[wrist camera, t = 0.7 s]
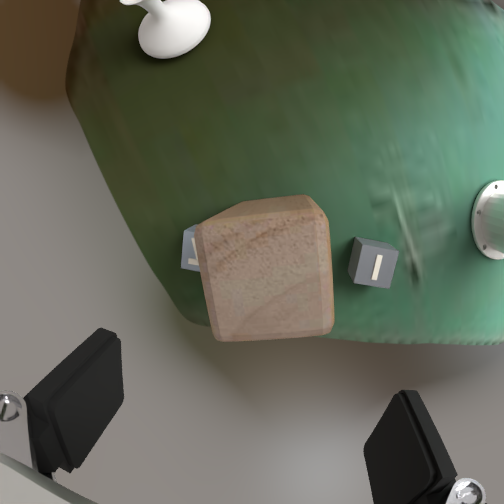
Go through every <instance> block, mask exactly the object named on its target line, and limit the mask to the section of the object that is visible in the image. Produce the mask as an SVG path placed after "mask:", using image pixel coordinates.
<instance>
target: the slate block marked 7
mask: <svg viewBox="0 0 504 504" xmlns="http://www.w3.org/2000/svg"><path fill="white" fill-rule="evenodd" d="M196 226H197V224H196V225H194V226H192V227H190V228H188V229H186V230H184V236H183V248H182V260H181V268H183V269H188V270H194V271H199V272H200V268H199V262H198V257H197V251H196V245H195V240H194V233H195V228H196Z"/></svg>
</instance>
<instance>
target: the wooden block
mask: <svg viewBox="0 0 504 504" xmlns="http://www.w3.org/2000/svg"><path fill="white" fill-rule="evenodd" d="M194 240H195V245H196V251H197V257H198V262H199V268H200V273H201V279H202V284H203V289H204V294H205V300H206V305H207V310H208V315H209V319H210V324H211V329H212V332H213V335H214V337H215V338H216V340H219V341H223V342H228V341H252V340H269V339H284V338H297V337H308V336H319V335H325V334H327V333H329V332H330V331H331V329H332V327H333V324H334V295H333V276H332V260H331V246H330V234H329V222H328V219H327V217H326V215H325V213H324V212H323V210H322V209H321V208H320V207H319V206H318V205H317V204H316V203H315V202H314V201H313V200H312V199H311V198H310V197H309V196H307V195H304V194H303V195H293V196H284V197H275V198H267V199H259V200H250V201H243V202H241V203H239V204H237V205H235V206H233V207H231V208H229V209H227V210H225V211H223V212H221V213H219V214H217V215H215V216H213V217H211V218H209V219H207V220H205V221H203V222H202V223H200V224H199V225H197V226H196V228H195V233H194Z"/></svg>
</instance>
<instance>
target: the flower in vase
mask: <svg viewBox="0 0 504 504" xmlns="http://www.w3.org/2000/svg"><path fill="white" fill-rule="evenodd" d="M120 2H121V3H122V4H125V5H133V4H136V5H139V6H141V7H143V8H144V9H146V10H147V11H148V12H149V13H148V14H147V15H146V16H145V18H144V19H143V21H142V23H141V25H140V28H139V32H138V38H139V43H140V46H141V48H142V49H143V51H144V52H145V53H147V54H148V55H150V56H152V57H155V58H161V59H166V58H173V57H177V56H179V55H182V54H184V53H186V52H188V51H190V50H191V49H193V48H194V47H195V46H196V45H197V44H199V43H200V42H201V40H202V39H203V38H204V37H205V35H206V33H207V32H208V29H209V27H210V21H211V17H210V12H209V10H208V8H207V7H206V6H205V5H204V4H203V3H201V2H200V1H198V0H167V1H164V2H162V1H161V0H120Z"/></svg>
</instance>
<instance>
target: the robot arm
mask: <svg viewBox="0 0 504 504" xmlns="http://www.w3.org/2000/svg"><path fill="white" fill-rule="evenodd" d="M471 225H472V233H473V238H474V241H475V243H476V245H477V247H478V249H479V250H480V251H481V252H482V253H483V254H484V255H485V256H487V257H489V258H491V259H495V260H501V259H504V181H503V180H496V181H492V182H490V183H488V184H487V185H485V186H484V187H483V188H482V190H481V191H480V192H479V194H478V196H477V198H476V200H475V203H474V206H473V211H472V219H471ZM123 392H124V391H123V378H122V360H121V341H120V339H119V338H117V335H116V333H114V332H111V331H109V330H106V329H103V328H99V329H97V330H96V331H95V332H94V333H93V334H92V335H91V336H90V337H88V338H87V339H86V340H85V341H84V342H83V343H82V344H81V345H79V346H78V347H77V348H76V349H75V350H74V351H73V352H72V353H71V354H70V355H68V356H67V357H66V358H65V359H64V360H63V361H62V362H61V363H60V364H59V365H58V366H56V368H54V369H53V370H52V371H51V372H50V373H49V374H48V375H47V376H46V377H45V378H44V379H43V380H41V381H40V382H39V383H38V384H37V385H36V386H35V387H34V388H33V389H32V390H31V391H30V392H29V393H28V394H27V395H26V396H25V397H24V398H22V397H21V396H20V395H19V394H18V393H15V392H13V391H0V504H97V503H95V502H93V501H91V500H89V499H87V498H85V497H83V496H81V495H79V494H77V493H75V492H73V491H71V490H69V489H67V488H65V487H63V486H62V485H60V484H58V483H57V482H56V477H55V473H54V472H56V470H57V469H58V467H60V468H62V469H63V470H65V471H67V472H69V473H71V472H72V470H73V469H74V467H75V468H79V467H80V466H81V464H82V463H83V461H84V460H85V458H86V457H87V455H88V454H89V452H90V451H91V449H92V448H93V446H94V445H95V443H96V442H97V440H98V439H99V437H100V436H101V434H102V433H103V431H104V430H105V428H106V427H107V425H108V424H109V422H110V421H111V420H112V418H113V416H114V415H115V414H116V412H117V411H118V409H119V407H120V406H121V405H122V402H123V399H124V393H123ZM364 457H365V461H366V466H367V471H368V476H369V480H370V486H371V491H372V497H373V502H374V504H486V503H485V501H486V493H485V490H484V488H483V486H482V485H481V484H480V483H479V482H477V481H476V480H474V479H470V478H463V479H460V480H458V481H457V482H456V480H455V477H456V476H457V472H456V470H455V468H454V466H453V463H452V461H451V459H450V457H449V455H448V452H447V450H446V448H445V446H444V444H443V442H442V439H441V437H440V435H439V433H438V431H437V429H436V427H435V425H434V423H433V421H432V419H431V417H430V415H429V413H428V411H427V409H426V407H425V405H424V403H423V401H422V399H421V397H420V395H419V394H418V392H417V391H415V390H401V391H399V393H398V394H395V395H394V396H393V398H392V400H391V402H390V403H389V405H388V407H387V409H386V410H385V412H384V414H383V416H382V417H381V419H380V421H379V422H378V424H377V426H376V427H375V429H374V431H373V432H372V434H371V435H370V437H369V438H368V440H367V441H366V443H365V445H364Z"/></svg>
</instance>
